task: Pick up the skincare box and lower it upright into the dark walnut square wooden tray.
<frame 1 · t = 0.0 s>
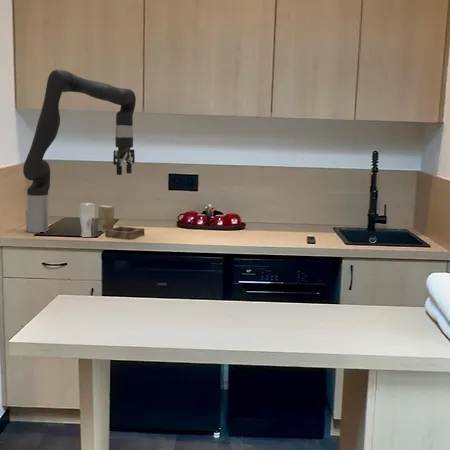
hand: (124, 174, 268), 29 cm above the kitchen counter, tool pointing down, fingers open, 8 cm apart
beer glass: (87, 237, 280), on the kitchen counter
square wooden tray: (125, 235, 284), on the kitchen counter
skincare box: (106, 232, 293), on the kitchen counter
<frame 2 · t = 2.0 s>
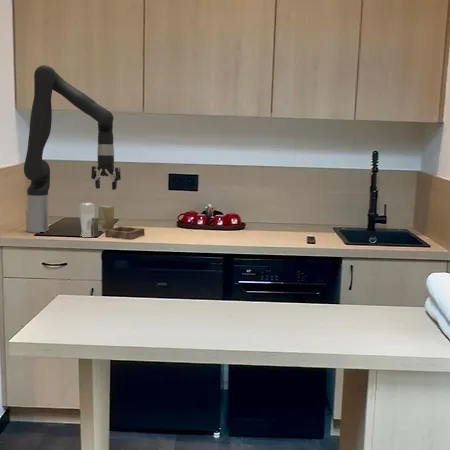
hand: (106, 189, 290), 20 cm above the kitchen counter, tool pointing down, fingers open, 8 cm apart
nothing on the kitchen counter moved.
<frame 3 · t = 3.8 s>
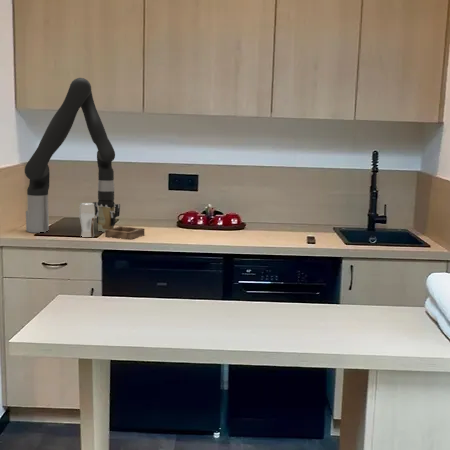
hand: (106, 224, 293), 3 cm above the kitchen counter, tool pointing down, fingers closed on skincare box, 6 cm apart
skincare box: (106, 232, 293), on the kitchen counter, touching gripper
everything else where it was.
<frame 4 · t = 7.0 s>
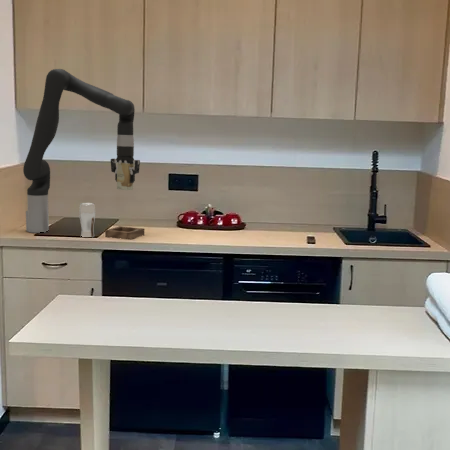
hand: (125, 182, 280), 25 cm above the kitchen counter, tool pointing down, fingers closed on skincare box, 6 cm apart
skincare box: (125, 189, 281), point 21 cm above the kitchen counter, touching gripper
everything else where it was.
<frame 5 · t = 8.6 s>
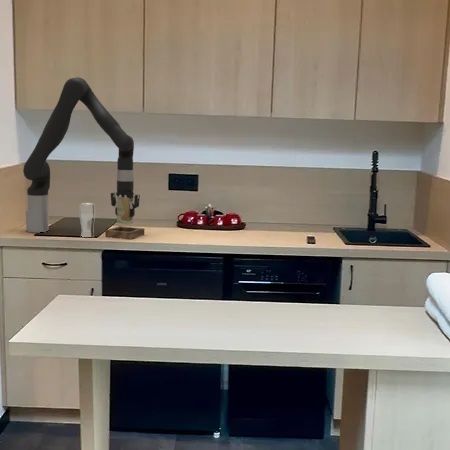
hand: (124, 216, 283), 9 cm above the kitchen counter, tool pointing down, fingers closed on skincare box, 6 cm apart
skincare box: (125, 223, 283), point 6 cm above the kitchen counter, touching gripper
everything else where it was.
when the fingers open (5 cm above the kitchen counter, at t = 10.1 s): skincare box drops 1 cm, resting in square wooden tray.
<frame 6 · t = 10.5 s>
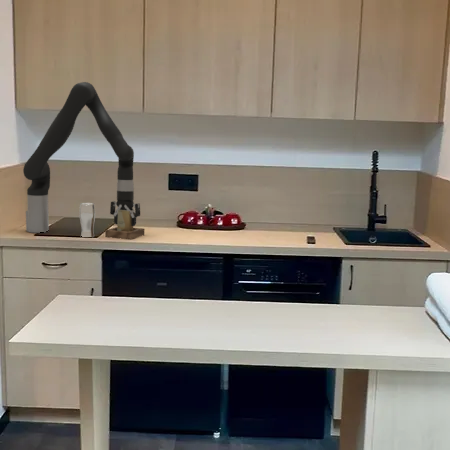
hand: (125, 224, 283), 5 cm above the kitchen counter, tool pointing down, fingers open, 8 cm apart
skincare box: (125, 236, 284), resting in square wooden tray
everything else where it was.
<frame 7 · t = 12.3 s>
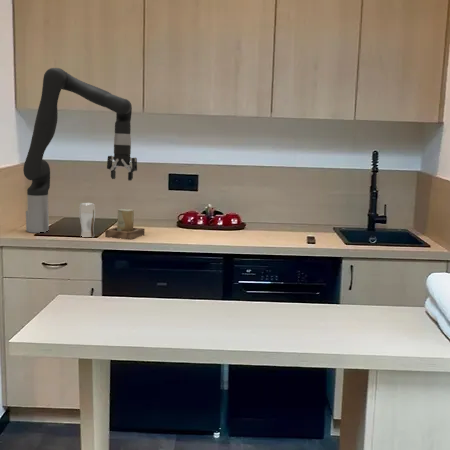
hand: (121, 179, 282), 26 cm above the kitchen counter, tool pointing down, fingers open, 8 cm apart
nothing on the kitchen counter moved.
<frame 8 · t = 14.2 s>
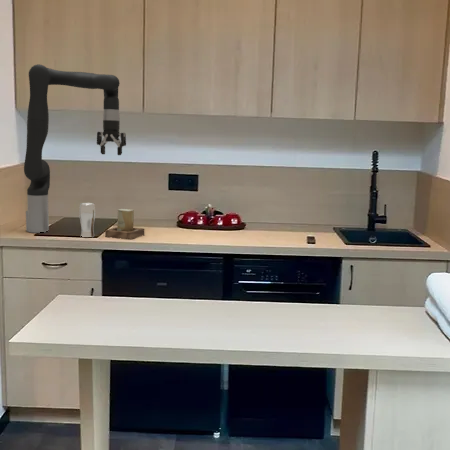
hand: (111, 154, 290), 36 cm above the kitchen counter, tool pointing down, fingers open, 8 cm apart
nothing on the kitchen counter moved.
at the end: skincare box inside the target area on the square wooden tray (0.2 cm from its centre), point 0.0 cm above the square wooden tray's base; skincare box tilted 0°; the gripper is holding nothing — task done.
